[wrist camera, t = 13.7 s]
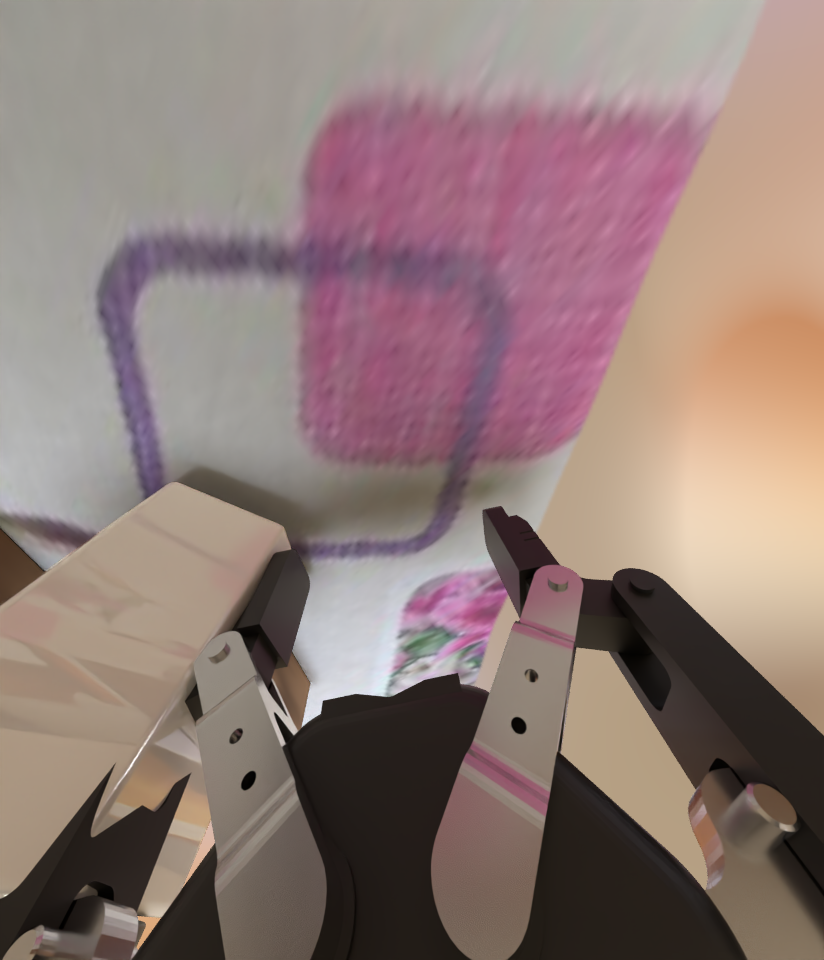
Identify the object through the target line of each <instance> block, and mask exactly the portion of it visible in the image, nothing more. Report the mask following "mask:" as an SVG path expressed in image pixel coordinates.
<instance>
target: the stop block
mask: <svg viewBox="0 0 824 960" xmlns="http://www.w3.org/2000/svg"><path fill="white" fill-rule="evenodd" d="M43 572H44V571H43V570H42V569H40V568H39V567H38V566H37V565H36V564H35V563H34V562H33V561H32V560H31V559H30V558H29V557H28V556H27V555H26V554H25V553H24V552H23V551H22V550H21V549H20V548H19V547H18V546H17V545H16V544H15V543H14V542H13V541H12V540H11V539H10V538H9V537H8V536H7V535H6V534H5V533H4V532H3V531H2V530H1V529H0V603H1V602H3V601H4V600H5V599H7V598H8V597H10V596H11V595H12V594H14V593H15V592H16V591H18V590H19V589H21V588H22V587H23V586H25V585H26V584H28V583H29V582H30V581H32V580H33V579H34V578H36V577H37V576H39V575H40V574H41V573H43Z"/></svg>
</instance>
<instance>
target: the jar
mask: <svg viewBox="0 0 824 960" xmlns="http://www.w3.org/2000/svg"><path fill="white" fill-rule="evenodd" d="M290 549H291V546H290V543H289V540H288V537H287V534H286V531H285V529H284V527H283V526H282V525H280V524H278V523H275V522H273V521H270V520H268V519H266V518H263V517H261V516H258V515H256V514H254V513H251V512H249V511H246V510H244V509H241V508H239V507H237V506H234V505H232V504H229V503H227V502H225V501H222V500H220V499H217V498H215V497H212V496H210V495H208V494H205V493H203V492H200V491H198V490H196V489H193V488H191V487H188V486H186V485H183V484H181V483H178V482H171V483H168V484H167V485H165V486H164V487H162V488H161V489H159V490H158V491H157V492H155V493H154V494H152V495H151V496H149V497H148V498H146V499H145V500H144V501H142V502H141V503H139V504H138V505H136V506H135V507H134V508H132V509H131V510H129V511H128V512H126V513H125V514H123V515H122V516H121V517H119V518H118V519H116V520H115V521H113V522H112V523H111V524H109V525H108V526H106V527H105V528H104V529H102V530H101V531H100V532H98V533H97V534H95V535H94V536H93V537H91V538H90V539H88V540H87V541H86V542H84V543H83V544H82V545H80V546H79V547H77V548H76V549H75V550H73V551H72V552H70V553H69V554H68V555H66V556H65V557H64V558H62V559H61V560H59V561H58V562H57V563H55V564H54V565H52V566H51V567H50V568H48V569H47V570H46V571H44V572H43V573H41V574H40V575H39V576H37V577H36V578H34V579H33V580H32V581H30V582H29V583H28V584H26V585H25V586H23V587H22V588H21V589H19V590H18V591H16V592H15V593H14V594H12V595H11V596H10V597H8V598H7V599H5V600H4V601H3V602H1V603H0V899H1V898H3V897H5V896H7V895H8V894H10V893H11V892H12V891H14V890H15V889H16V888H17V887H18V886H19V885H20V884H21V883H22V881H23V880H24V879H25V878H26V877H27V875H28V874H29V873H30V872H31V870H32V869H33V868H34V866H35V865H36V864H37V863H38V861H39V860H40V859H41V858H42V856H43V855H44V854H45V852H46V851H47V850H48V849H49V847H50V846H51V845H52V843H53V842H54V841H55V840H56V838H57V837H58V836H59V835H60V833H61V832H62V831H63V829H64V828H65V827H66V826H67V824H68V823H69V822H70V820H71V819H72V818H73V817H74V815H75V814H76V813H77V812H78V810H79V809H80V808H81V806H82V805H83V804H84V803H85V801H86V800H87V799H88V797H89V796H90V795H91V794H92V792H93V791H94V790H95V788H96V787H97V786H98V785H99V783H100V782H101V781H102V780H103V778H104V777H105V776H106V774H107V773H108V772H109V771H110V769H111V768H112V767H113V765H114V764H115V763H116V764H115V766H114V769H113V771H112V774H111V776H110V778H109V781H108V783H107V786H106V788H105V791H104V793H103V796H102V798H101V801H100V804H99V806H98V809H97V811H96V814H95V817H94V821H93V824H92V828H91V837H95V836H96V835H98V834H99V833H101V832H102V831H104V830H105V829H107V828H108V827H110V826H111V825H113V824H114V823H116V822H117V821H119V820H120V819H122V818H123V817H125V816H126V815H128V814H129V813H131V812H133V811H134V810H136V809H137V808H139V807H140V806H142V805H143V806H145V807H147V808H148V809H150V810H152V811H154V812H155V811H157V810H158V809H159V808H160V807H161V805H162V804H163V803H164V801H165V800H166V798H167V796H168V794H169V793H170V791H171V789H172V787H173V785H174V784H175V783H176V782H178V781H179V780H181V779H182V778H184V777H185V776H187V775H188V774H190V773H191V772H192V773H191V775H190V778H189V780H188V783H187V785H186V788H185V790H184V793H183V796H182V798H181V801H180V803H179V806H178V808H177V811H176V813H175V816H174V819H173V821H172V824H171V826H170V829H169V831H168V834H167V836H166V839H165V842H164V844H163V847H162V849H161V852H160V854H159V857H158V859H157V862H156V865H155V867H154V870H153V872H152V875H151V877H150V880H149V882H148V885H147V888H146V890H145V893H144V895H143V898H142V900H141V903H140V905H139V908H138V911H137V916H145V917H158V918H161V917H162V916H163V915H164V913H165V912H166V911H167V909H168V908H169V906H170V905H171V904H172V902H173V901H174V899H175V898H176V897H177V895H178V894H179V893H180V891H181V890H182V887H183V885H184V883H185V880H186V878H187V875H188V873H189V871H190V868H191V866H192V863H193V861H194V859H195V856H196V854H197V852H198V849H199V847H200V845H201V842H202V840H203V837H204V835H205V833H206V830H207V828H208V826H209V823H210V821H211V815H210V810H209V804H208V798H207V792H206V786H205V780H204V774H203V768H202V762H201V756H200V751H199V745H198V739H197V733H196V723H195V721H194V719H193V717H192V715H191V713H190V711H189V709H188V707H187V705H186V703H185V700H186V699H187V697H188V696H189V694H190V693H191V691H192V690H193V688H194V687H195V685H196V684H197V681H196V676H195V671H194V662H195V660H196V659H197V657H198V656H199V654H200V653H201V652H202V650H203V649H204V648H205V646H206V645H207V644H208V642H210V641H211V640H212V639H214V638H215V637H217V636H218V635H220V634H222V633H225V632H229V631H231V630H232V628H233V627H234V625H235V624H236V622H237V621H238V619H239V618H240V616H241V615H242V613H243V612H244V610H245V608H246V607H247V605H248V604H249V602H250V601H251V599H252V597H253V595H254V593H255V591H256V589H257V587H258V585H259V583H260V581H261V579H262V577H263V574H264V572H265V570H266V568H267V566H268V564H269V562H270V560H271V558H272V556H273V554H274V553H276V552H281V551H285V550H290ZM91 895H95V896H97V895H98V893H97V890H95V889H94V888H92V887H90V886H88V885H86V886H85V887H83V888H82V890H81V891H80V892H79V893H78V894H77V896H76V897H75V899H74V900H76V899H79V898H83V897H86V896H91ZM145 926H146V924H145V922H142V921H138V933H137V938H136V943H135V947H137V944H138V942H139V940H140V938H141V936H142V933H143V931H144V929H145Z"/></svg>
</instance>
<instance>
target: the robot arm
mask: <svg viewBox="0 0 824 960" xmlns="http://www.w3.org/2000/svg"><path fill="white" fill-rule="evenodd" d="M483 524H484V535H485V542H486V546H487V550H488V552H489V555H490V557H491V559H492V561H493V563H494V565H495V567H496V569H497V571H498V573H499V576H500V578H501V580H502V582H503V584H504V586H505V588H506V590H507V592H508V595H509V597H510V599H511V601H512V603H513V605H514V607H515V609H516V611H517V613H518V616H519V618H520V620H519V622H517V621H516V622H515V623H514V624H513V626H512V629H511V632H510V635H509V638H508V641H507V644H506V646H505V649H504V652H503V656H502V658H501V661H500V664H499V667H498V670H497V673H496V676H495V679H494V682H493V685H492V687H491V690H490V693H489V692H487V691H486V690H483V689H480V688H478V687H475V686H470V685H464V684H460V680H459V676H458V673H456V674H451V675H446V676H441V677H437V678H432V679H427V680H424V681H422V682H420V683H418V684H416V685H414V686H412V687H410V688H408V689H406V690H404V691H402V692H400V693H398V694H396V695H394V696H392V697H382V696H371V695H361V694H354V695H349V696H344V697H339V698H334V699H329V700H324V701H323V704H322V710H321V714H320V715H318V716H317V717H315V718H314V719H312V720H311V721H309V722H308V723H307V724H305V725H304V726H303V727H302V728H301V729H300V730H299V731H298V730H297V728H296V727H295V725H294V723H293V721H292V719H291V717H290V714H289V712H288V710H287V708H286V706H285V703H284V701H283V699H282V697H281V695H280V693H279V690H278V688H277V686H276V684H275V682H274V680H273V679H272V676H273V673H274V670H275V669H279V668H284V667H288V663H289V660H290V656H291V653H292V649H293V646H294V642H295V639H296V635H297V632H298V628H299V624H300V621H301V617H302V614H303V610H304V607H305V603H306V600H307V596H308V593H309V588H310V581H309V576H308V574H307V572H306V570H305V568H304V566H303V564H302V561H301V559H300V557H299V555H298V553H297V551H296V550H295V549H290V550H285V551H281V552H276V553H274V554H273V556H272V558H271V560H270V562H269V564H268V566H267V568H266V570H265V572H264V574H263V577H262V579H261V581H260V583H259V585H258V587H257V589H256V591H255V593H254V595H253V597H252V599H251V601H250V602H249V604H248V605H247V607H246V608H245V610H244V612H243V613H242V615H241V616H240V618H239V619H238V621H237V622H236V624H235V625H234V627H233V628H232V630H231V631H229V632H225V633H222V634H220V635H218V636H217V637H215V638H214V639H212V640H211V641H210V642H208V644H207V645H206V646H205V648H204V649H203V650H202V652H201V653H200V654H199V656H198V657H197V659H196V660H195V662H194V671H195V676H196V681H197V684H196V685H195V687H194V688H193V690H192V691H191V693H190V694H189V696H188V697H187V699H186V700H185V703H186V705H187V707H188V709H189V711H190V713H191V715H192V717H193V719H194V721H195V723H196V733H197V739H198V745H199V751H200V756H201V762H202V768H203V774H204V780H205V786H206V792H207V798H208V804H209V810H210V815H211V821H212V827H213V833H214V839H215V844H214V845H213V847H212V848H211V849H210V851H209V852H208V854H207V855H206V856H205V858H204V859H203V860H202V862H201V863H200V865H199V866H198V868H197V869H196V870H195V872H194V873H193V874H192V876H191V878H190V879H189V880H188V882H187V883H186V884H185V886H184V887H183V888H182V890H181V891H180V893H179V894H178V895H177V897H176V898H175V899H174V901H173V902H172V904H171V905H170V906H169V908H168V909H167V911H166V912H165V913H164V915H163V916H162V918H161V919H160V920H159V922H158V923H157V925H156V926H155V927H154V929H153V930H152V932H151V933H150V935H149V936H148V937H147V939H146V940H145V941H144V943H143V944H142V946H141V947H140V948H139V950H138V949H137V948H136V947H135V943H136V938H137V933H138V917H137V911H138V908H139V905H140V903H141V900H142V898H143V895H144V893H145V890H146V888H147V885H148V882H149V880H150V877H151V875H152V872H153V870H154V867H155V865H156V862H157V859H158V857H159V854H160V852H161V849H162V847H163V844H164V842H165V839H166V836H167V834H168V831H169V829H170V826H171V824H172V821H173V819H174V816H175V813H176V811H177V808H178V806H179V803H180V801H181V798H182V796H183V793H184V790H185V788H186V785H187V783H188V780H189V778H190V775H191V773H192V772H191V773H190V774H188V775H187V776H185V777H184V778H182V779H181V780H179V781H178V782H176V783H175V784H174V785H173V787H172V789H171V791H170V793H169V794H168V796H167V798H166V800H165V801H164V803H163V804H162V805H161V807H160V808H159V809H158V810H157V811H155V812H154V811H152V810H150V809H148V808H147V807H145V806H143V805H142V806H140V807H139V808H137V809H136V810H134V811H133V812H131V813H129V814H128V815H126V816H125V817H123V818H122V819H120V820H119V821H117V822H116V823H114V824H113V825H111V826H110V827H108V828H107V829H105V830H104V831H102V832H101V833H99V834H98V835H96V836H95V837H91V828H92V824H93V821H94V817H95V814H96V811H97V809H98V806H99V804H100V801H101V798H102V796H103V793H104V791H105V788H106V786H107V783H108V781H109V778H110V776H111V774H112V771H113V769H114V766H115V764H116V763H115V764H114V765H113V767H112V768H111V769H110V771H109V772H108V773H107V774H106V776H105V777H104V778H103V780H102V781H101V782H100V783H99V785H98V786H97V787H96V788H95V790H94V791H93V792H92V794H91V795H90V796H89V797H88V799H87V800H86V801H85V803H84V804H83V805H82V806H81V808H80V809H79V810H78V812H77V813H76V814H75V815H74V817H73V818H72V819H71V820H70V822H69V823H68V824H67V826H66V827H65V828H64V829H63V831H62V832H61V833H60V835H59V836H58V837H57V838H56V840H55V841H54V842H53V843H52V845H51V846H50V847H49V849H48V850H47V851H46V852H45V854H44V855H43V856H42V858H41V859H40V860H39V861H38V863H37V864H36V865H35V866H34V868H33V869H32V870H31V872H30V873H29V874H28V875H27V877H26V878H25V879H24V880H23V881H22V883H21V884H20V885H19V886H18V887H17V888H16V889H15V890H14V891H12V892H11V893H10V894H8V895H7V896H5V897H3V898H1V899H0V960H824V736H823V735H822V734H821V733H820V732H819V731H818V730H817V729H816V728H815V727H814V726H813V725H812V724H811V723H810V722H809V721H808V720H807V719H806V718H805V717H804V716H803V715H802V714H801V713H800V712H799V711H798V710H797V709H796V708H795V707H794V706H793V705H792V704H791V703H790V702H789V701H788V700H786V699H785V698H784V697H783V696H782V695H781V694H780V693H779V692H778V691H777V690H776V689H775V688H774V687H773V686H772V685H771V684H770V683H769V682H768V681H767V680H766V679H765V678H764V677H763V676H762V675H761V674H760V673H759V672H758V671H757V670H755V669H754V667H752V665H751V664H750V663H748V662H747V661H746V660H745V659H744V658H743V657H742V656H741V655H740V654H739V653H738V652H737V651H736V650H735V649H734V648H733V647H732V646H731V645H730V644H729V643H728V642H727V641H726V640H725V639H724V638H723V637H722V636H721V635H720V634H718V632H717V631H716V630H715V629H714V628H713V627H711V626H710V625H709V624H708V623H707V622H706V621H705V620H704V619H703V618H702V617H701V616H700V615H699V614H698V613H697V612H696V611H695V610H694V609H693V608H692V607H691V606H690V605H689V604H688V603H687V602H686V601H685V600H684V599H683V598H682V597H681V596H680V595H678V593H677V592H676V591H675V590H674V589H673V588H671V587H670V586H669V585H668V584H667V583H666V582H665V581H664V580H663V579H661V578H660V577H658V576H657V575H655V574H653V573H650V572H648V571H645V570H641V569H635V568H634V569H633V568H628V569H622V570H620V571H618V572H616V573H615V574H614V576H613V580H612V581H610V580H593V579H585V578H581V577H579V575H577V573H575V572H574V571H573V570H571V569H569V568H567V567H564V566H560V565H559V563H558V562H557V561H556V559H555V558H554V557H553V555H552V554H551V553H550V551H549V550H548V549H547V547H546V546H545V545H544V543H543V542H542V541H541V539H539V537H538V535H537V534H536V533H535V531H533V529H532V527H531V526H530V525H529V523H528V522H527V521H525V520H524V519H522V518H520V517H519V516H517V515H514V516H510V517H508V515H507V514H506V512H505V511H504V509H503V508H502V507H501V506H498V507H493V508H488V509H483ZM576 647H579V648H586V649H595V650H603V651H609V653H610V654H611V656H612V658H613V659H614V661H615V663H616V664H617V665H618V667H619V669H620V670H621V672H622V674H623V675H624V677H625V678H626V680H627V682H628V683H629V685H630V686H631V688H632V689H633V691H634V693H635V694H636V696H637V697H638V699H639V700H640V702H641V704H642V705H643V707H644V708H645V710H646V711H647V713H648V715H649V716H650V718H651V719H652V721H653V723H654V724H655V726H656V727H657V729H658V730H659V732H660V734H661V735H662V737H663V738H664V740H665V741H666V743H667V745H668V746H669V748H670V749H671V751H672V753H673V754H674V756H675V757H676V759H677V761H678V762H679V764H680V765H681V767H682V769H683V770H684V772H685V773H686V775H687V776H688V778H689V779H690V781H691V783H692V784H693V786H694V787H695V789H696V791H695V792H694V794H693V795H692V797H691V799H690V801H689V806H688V814H689V820H690V824H691V827H692V830H693V832H694V834H695V836H696V839H697V841H698V843H699V845H700V847H701V849H702V852H703V855H704V858H705V862H706V867H707V874H708V875H707V876H708V880H707V887H706V890H704V889H703V888H702V887H701V885H700V884H699V883H698V882H697V880H696V879H695V878H694V877H693V876H692V875H691V874H690V872H688V870H687V869H686V868H685V867H684V866H683V865H682V864H681V863H680V862H679V861H678V860H677V859H676V858H675V857H674V856H673V855H672V854H671V853H670V852H669V851H668V850H667V849H666V848H664V847H663V846H662V845H661V844H660V843H659V842H658V841H657V840H656V839H654V838H653V837H652V836H651V835H650V834H649V833H648V832H647V831H646V830H645V829H643V828H642V827H641V826H640V825H639V824H638V823H637V822H636V821H635V820H634V819H632V818H631V817H630V816H629V815H628V814H627V813H626V812H625V811H624V810H622V809H621V808H620V807H619V806H618V805H617V804H616V803H615V802H614V801H612V800H611V799H610V798H609V797H608V796H607V795H606V794H605V793H604V792H603V791H601V790H600V789H599V788H598V787H597V786H596V785H595V784H594V783H593V782H591V781H590V780H589V779H588V778H587V777H586V776H585V775H584V774H583V773H582V772H580V771H579V770H578V769H577V768H576V767H575V766H574V765H573V764H572V763H571V762H569V761H568V760H567V759H566V758H565V757H564V756H563V755H562V754H561V750H562V743H563V736H564V729H565V722H566V715H567V707H568V700H569V693H570V686H571V680H572V673H573V666H574V660H575V653H576ZM86 885H88V886H90V887H92V888H94V889H95V890H97V893H98V895H97V896H95V895H91V896H86V897H83V898H79V899H76V900H74V899H75V897H76V896H77V894H78V893H79V892H80V891H81V890H82V888H83V887H85V886H86Z"/></svg>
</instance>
